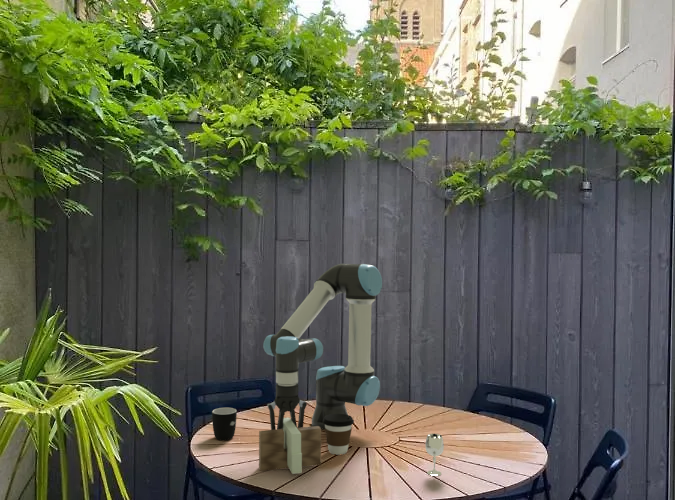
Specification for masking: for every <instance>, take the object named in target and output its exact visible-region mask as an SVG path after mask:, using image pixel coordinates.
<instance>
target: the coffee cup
mask: <svg viewBox="0 0 675 500" xmlns="http://www.w3.org/2000/svg"><path fill="white" fill-rule="evenodd" d="M323 423H324V424H325V430H324V433H325V439H326V444H327V449H328V452H329V453H330V454H331V455H334V454H336V455H335V456H337V455H338V456H341V455H340V454H342V455H345V454H347V452H348V449H349V445H350V441H351V434H352V430H353V429H352V426H353V425H354V423H355V420H354V417H352V416H351V415H349V414H348V415H346V414H330V415H327V416H325V417H324V419H323Z"/></svg>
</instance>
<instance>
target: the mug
mask: <svg viewBox="0 0 675 500" xmlns="http://www.w3.org/2000/svg"><path fill="white" fill-rule="evenodd" d="M237 413H238V412H237V409H236V408H233V407H219V408H215V409H213V410H212V411H211V415H212V416H211V418H212V428H213V429H212V430H213V435H214V438H215V439H216V440H218V441H222V440H224V441H229V440H233V437H234V436H235V433H236V427H237V416H238V415H237Z"/></svg>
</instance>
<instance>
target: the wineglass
mask: <svg viewBox="0 0 675 500" xmlns="http://www.w3.org/2000/svg"><path fill="white" fill-rule="evenodd" d="M444 443H445V442H444V439H443V435H442V434H441V433H440V434H439V433H428V434H427V435H426V438H425V444H424V447H425V451H426V453H427V454H428V455H430V456H432V462H433V469H431V470H428V471H427V473H426V474H427V475H429V476H432V477H438V476H439V477H440V476H441V475H442V471H439V470H436V462H437V461H436V460H437V457H438V456H440V455H442V453H444V448H445V447H444V446H445V445H444Z"/></svg>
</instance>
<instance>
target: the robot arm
mask: <svg viewBox="0 0 675 500" xmlns="http://www.w3.org/2000/svg"><path fill="white" fill-rule="evenodd" d="M382 278H383V277H382V275H381V272H380V271H379V269H378V268H377V267H376V266H375V265H371V264H366V263H361V264H360V263H359V264H358V263H339V264H335V265H333V266H332V267H329V268H328V269H327V270H326V271H325V272H324V273H322V274H321V275H320V276H319V277H318V278H317V279H316V281H315V282H314V283H313V289H312V290H311V291H310V292H309V294H307V295H306V297H305V298H304V300H303V301H302V302H301V303H300V305H299V306H297V308H296V310H294V312H293V313H292V315H291V316H290V317H289V318H288V319H287V321H286V322H285V323H284V325H283V326H282V327H281V328H280V329H279V331H277V333H276V334H275V333H274V334H269V335H267V336H266V337H265V338H264V341H263V346H262V348H263V350H264V352H265V353H266V355H269V356H271V357H275V383H276V385H275V398H274V400H273V402H271V403H270V402H268V403H267V404H266V405H267V408H268V410H269V421H270V430H277V429H282V426H283V419H284V418H285V414H286V413H287V412H289V416H290V419H291V420H292V422H293V423H294V425H295V426H296V427H297V428H301V427H304V421H305V410H306V407H307V405H308V403H307V402H306V401H305V400H301V399H300V397H299V384H298V383H299V364H302V363H307V362H313V361H315V360H318V359H320V358H321V357H322V356H323V353H324V346H323V343H322V342H321V340H319V339H318V338H314V337H312V338H311V337H309V338H301V337H302V336H303V335H304V334H305V332H306V330H307V329H308V328H309V327H310V325H311V324H312V323H313V321H314V320H315V319H316V318H317V316H319V314H320V313H321V311H322V310H323V309H324V307H325V306H326V305H327V304H328V302H329V301H332V300H334V299H335V297H336V296H337V295H339V294H345V300H346V301H347V302H348V303H349V305H348V306H349V307H348V309H349V312H348V349H347V351H348V358H347V365H346V366H343V365H333V366H324V367H321V368H319V369H317V371H316V377H315V387H316V388H315V408H314V410H313V411H314V412H313V414H312V417H311V427H313V426H319V427H320V428H321V430H324V431H325V424H324V423H323V419H324V417H325V416H327V415H330V414H346V415H349V414H348V411H347V407H346V403H347V404H351V405H352V404H353V405H356V406H360V407H361V406H363V407H368V406H371V405H372V404H373V403H375V401H376V400H377V398H378V397H379V394H380V390H381V381H380V379H379V378H378V377H377V376H375V369H374V367H372V366H371V351H372V350H371V349H372V347H371V344H372V305H373V303H374V302H375V301H376V299H377V298H376V297H377V296H378V295H379V294H380V293H381V290H382V289H383V279H382ZM297 406H298V407H299V411H298V422H297V419H296V418H297V417H296V408H297ZM276 407H277V408H278V409H279V410H278V419H277V424H276V417H275V409H276ZM276 425H277V426H276Z"/></svg>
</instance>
